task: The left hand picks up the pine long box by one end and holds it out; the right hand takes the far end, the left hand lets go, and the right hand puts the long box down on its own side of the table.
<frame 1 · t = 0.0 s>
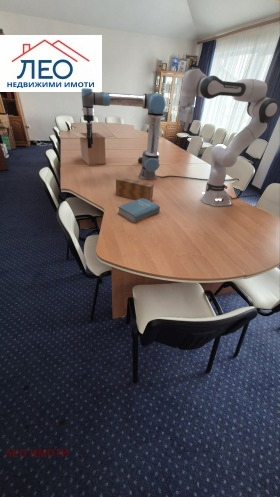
left hand: (90, 146, 173), 28 cm above the table, tool pointing down, fingers open, 13 cm apart
right hand: (183, 129, 138), 48 cm above the table, tool pointing down, fingers open, 8 cm apart
laser sight: (148, 164, 240), on the table
book: (139, 213, 147), on the table
box: (93, 161, 237), on the table
long box: (133, 197, 167), on the table
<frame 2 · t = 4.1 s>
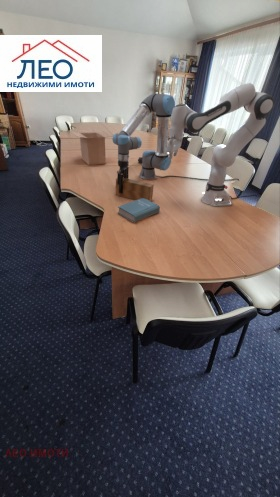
left hand: (122, 191, 168), 3 cm above the table, tool pointing down, fingers closed on long box, 6 cm apart
right hand: (172, 157, 148), 31 cm above the table, tool pointing down, fingers open, 8 cm apart
long box: (133, 197, 167), on the table, touching left hand
everything else where it was.
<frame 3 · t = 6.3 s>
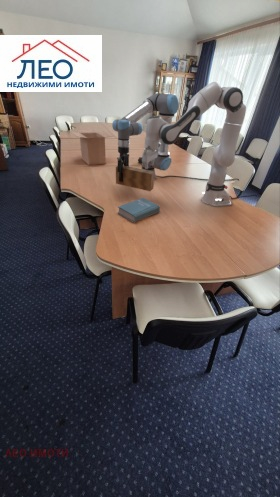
left hand: (123, 180, 163), 12 cm above the table, tool pointing down, fingers closed on long box, 6 cm apart
right hand: (149, 167, 150), 24 cm above the table, tool pointing down, fingers open, 8 cm apart
long box: (134, 186, 162), point 9 cm above the table, touching left hand
everything else where it was.
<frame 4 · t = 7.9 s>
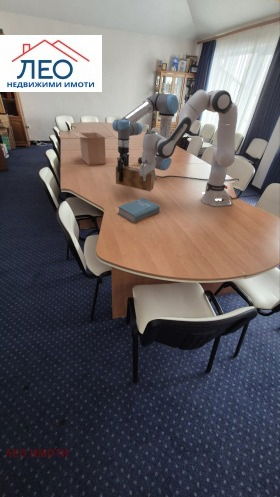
left hand: (123, 180, 163), 12 cm above the table, tool pointing down, fingers closed on long box, 6 cm apart
right hand: (146, 179, 155), 16 cm above the table, tool pointing down, fingers closed on long box, 6 cm apart
long box: (134, 186, 162), point 9 cm above the table, touching left hand, right hand
everything else where it was.
when the left hand's fingers open (12 cm above the table, at t = 8.8 s): long box stays where it is, held by the right hand.
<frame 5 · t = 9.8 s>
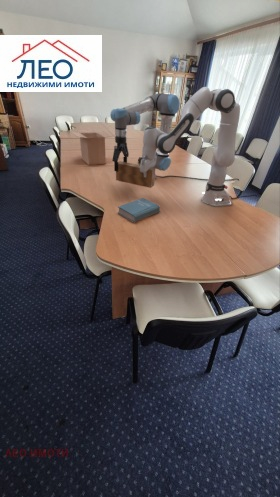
left hand: (120, 168, 159), 19 cm above the table, tool pointing down, fingers open, 13 cm apart
right hand: (147, 175, 153), 19 cm above the table, tool pointing down, fingers closed on long box, 6 cm apart
long box: (134, 182, 160), point 12 cm above the table, touching right hand
everything else where it was.
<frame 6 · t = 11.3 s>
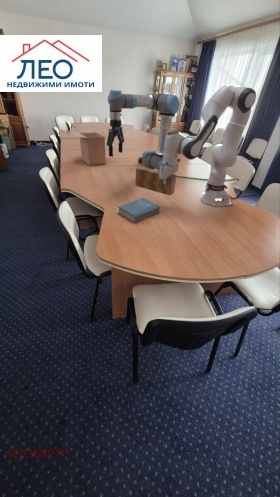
left hand: (115, 154, 154), 29 cm above the table, tool pointing down, fingers open, 13 cm apart
right hand: (167, 182, 145), 18 cm above the table, tool pointing down, fingers closed on long box, 6 cm apart
long box: (154, 189, 153), point 11 cm above the table, touching right hand
everything else where it was.
when the right hand's fingers open (9 cm above the table, at t = 15.2 s): long box drops 1 cm, on the table.
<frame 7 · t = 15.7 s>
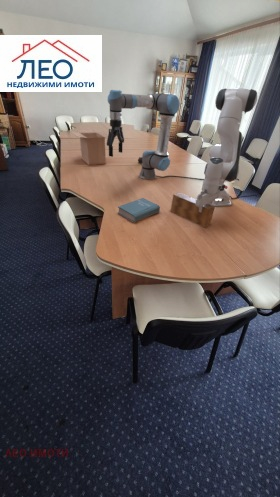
left hand: (115, 154, 154), 29 cm above the table, tool pointing down, fingers open, 13 cm apart
right hand: (204, 209, 136), 9 cm above the table, tool pointing down, fingers open, 8 cm apart
long box: (189, 217, 146), on the table
everything else where it was.
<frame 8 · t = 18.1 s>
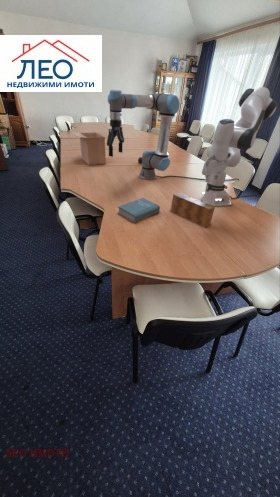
left hand: (115, 154, 154), 29 cm above the table, tool pointing down, fingers open, 13 cm apart
right hand: (211, 180, 125), 28 cm above the table, tool pointing down, fingers open, 8 cm apart
nothing on the table moved.
at the end: long box inside the target area (8.8 cm from its centre), on the table; the left hand is holding nothing; the right hand is holding nothing; long box at rest at the end (0.0 cm/s) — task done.
